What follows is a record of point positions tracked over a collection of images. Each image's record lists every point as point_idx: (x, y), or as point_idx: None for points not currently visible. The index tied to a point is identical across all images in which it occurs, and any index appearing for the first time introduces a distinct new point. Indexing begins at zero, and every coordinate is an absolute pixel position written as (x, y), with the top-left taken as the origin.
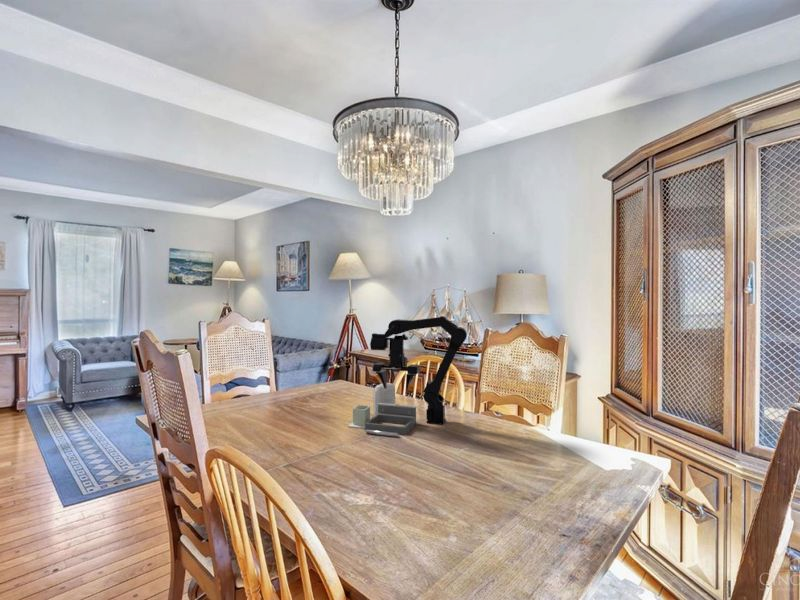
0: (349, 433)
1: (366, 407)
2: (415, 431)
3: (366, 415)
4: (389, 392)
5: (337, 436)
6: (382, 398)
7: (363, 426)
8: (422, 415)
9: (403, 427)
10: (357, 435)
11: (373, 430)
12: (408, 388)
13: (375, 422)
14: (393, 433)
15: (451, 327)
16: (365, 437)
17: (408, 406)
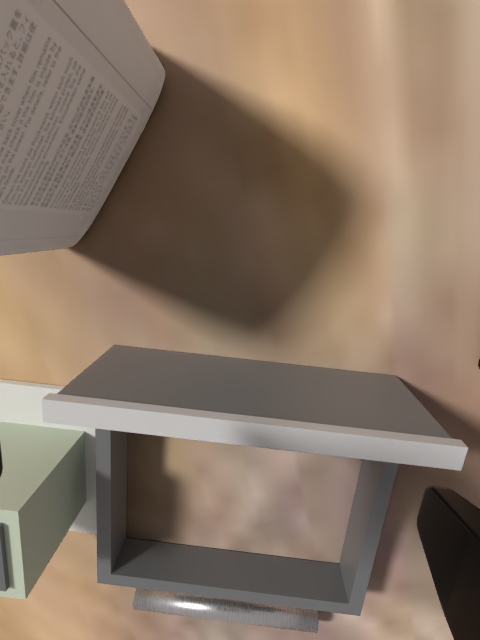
0: (58, 594)
1: (4, 545)
2: (402, 524)
3: (54, 529)
4: (22, 86)
5: (24, 632)
6: (8, 220)
7: (84, 516)
8: (442, 169)
9: (347, 613)
10: (108, 611)
11: (175, 613)
12: (473, 517)
13: (125, 439)
14: (293, 629)
15: None
16: (156, 628)
17: (379, 458)
